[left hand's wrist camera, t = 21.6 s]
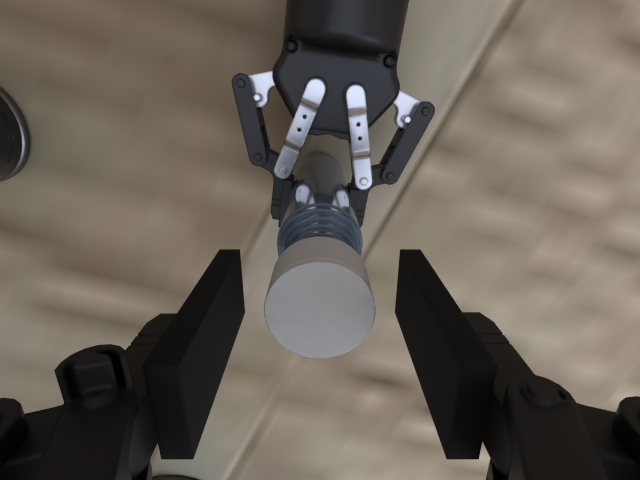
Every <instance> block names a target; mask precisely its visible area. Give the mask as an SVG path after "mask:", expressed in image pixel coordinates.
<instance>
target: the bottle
mask: <svg viewBox="0 0 640 480" xmlns="http://www.w3.org/2000/svg"><path fill="white" fill-rule="evenodd" d="M316 236H320V237H321V236H322V237H330V238H335V239H337V240H340V241H342V242H344V243H346V244H347V245H349V246H350V247H352V248H353V249H354V250H355V251H356V252H357V253H358V255H359V256H360V257H361V254H362V244H363V243H362V234H361V231H360V227H359V224H358V221H357V218H356V214H355V211H354V208H353V205H352V201H351V198H350V195H349V191H348V188H347V185H346V182H345V178H344V175H343V172H342V169H341V166H340V164H339V163H338V161H337V160H336V159H335V158H333V157H332V156H330V155H328V154H324V153H316V154H312V155H310V156H308V157H307V158H305V159H304V160H303V161H302V163H301V164H300V166H299V169H298V172H297V175H296V178H295V182H294V185H293V188H292V191H291V195H290V198H289V201H288V204H287V207H286V211H285V214H284V217H283V220H282V223H281V227H280V230H279V233H278V238H277V246H278V255H279V257H280V255H281V254H282V253H283V252H284V251H285V250H286V249H287V248H288V247H289V246H291V245H292V244H294V243H296V242H297V241H300V240H302V239H306V238H309V237H316Z"/></svg>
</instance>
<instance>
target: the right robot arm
mask: <svg viewBox="0 0 640 480" xmlns="http://www.w3.org/2000/svg"><path fill="white" fill-rule="evenodd" d="M408 2H409V0H287V7H286V18H285V29H284V40H283V48H282V52H281V55H280V57H279V59H278V60H277V62H276V63H275V65H274V67H273V71H269V72H263V73H258V74H253V75H246V74H242V73H239V74H236V75H235V76H234V77H233V79H232V87H233V91H234V95H235V100H236V104H237V108H238V112H239V117H240V121H241V125H242V129H243V134H244V138H245V142H246V146H247V151H248V155H249V159H250V161H251V163H252V164H254V165H256V166H261V167H263V168H265V169H266V170H268V171H270V172H271V174H272V175H273V178H274V184H273V194H272V205H271V215H272V218H273V219H277V220H279V227H281V223H282V220H283V217H284V214H285V211H286V207H287V204H288V201H289V198H290V195H291V191H292V188H293V185H294V179H295V175H292V173H293V167H294V165H295V162H296V160H297V158H298V155H299V153H300V150H301V148H302V146H303V143H304V141H305V139H306V136H307V134H311V135H324V134H331V135H333V136H335V137H338V138H340V139H346V140H348V145H349V152H350V159H351V167H352V180H351V183H348V186H347V188H348V191H349V195H350V198H351V201H352V205H353V208H354V211H355V214H356V218H357V221H358V224H359V227H361V226H362V224H363V218H364V213H365V207H366V202H367V197H368V192H369V191H370V189H371V188H372V187H374V186H376V185H381V184H385V183H386V184H389V185H391V184H394V183H395V182H397V180H398V178H399V177H400V175H401V173H402V171H403V169H404V168H405V166H406V164H407V162H408V160H409V159H410V157H411V155H412V153H413V151H414V150H415V148H416V146H417V144H418V142H419V141H420V139H421V137H422V135H423V133H424V132H425V130H426V128H427V126H428V124H429V123H430V121H431V119H432V117H433V115H434V113H435V108H434V106H433V104H432V103H430V102H426V101H420V100H418V99H416V98H414V97H412V96H410V95H408V94H406V93H405V92H403V91H401V90H400V84H399V80H398V77H397V60H398V55H399V49H400V44H401V39H402V34H403V28H404V23H405V18H406V13H407V8H408ZM275 86H276V88H277V90H278V92H279V94H280V95H281V97H282V99H283V101H284V103H285V105H286V107H287V109H288V110H289V112H290V114H291V116H292V118H293V122H292V124H291V127H290V129H289V132H288V134H287V137H286V139H285V142H284V145H283V147H282V150H281V152H280V154H279V153H278V152H276V151H274V150H272V149H270V145H269V141H268V136H267V131H266V127H265V122H264V117H263V113H262V108H261V107H263V106H265V105H267V104H268V102H269V92H270V90H271V89H272V88H273V87H275ZM392 104H393V105H394V106H395V109H396V113H395V116H394V122H395V124H396V125H397V126H398V127H399V128H398V129H397V131H396V133H395V135H394V137H393V139H392V141H391V143H390V145H389V146H388V148H387V150H386V152H385V154H384V156H383V158H382V160H381V162H380V163H379V164H377V165H372V166H371V162H370V143H369V133H368V129H369V128H370V127H371V126H372V125H373V124H374V122H375V121H376V120H377V119H378V118H379V117H380V116H381V115H382V114H383V113H384V112H385V111H386V110H387V109H388V108H389V107H390V106H391V105H392ZM28 153H29V134H28V129H27V126H26V123H25V120H24V118H23V116H22V114H21V112H20V110H19V109H18V107H17V106H16V104H15V103H14V102H13V100H12V99H11V98H10V97H9V96H8V95H7V94H6V93H5V92H4V91H3V90H2V89H1V88H0V181H4V180H7V179H9V178H11V177H12V176H14V175H15V174H17V173H18V172H19V171H20V170H21V168H22V167H23V166H24V164H25V162H26V160H27V157H28Z"/></svg>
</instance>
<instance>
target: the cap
mask: <svg viewBox="0 0 640 480" xmlns="http://www.w3.org/2000/svg"><path fill="white" fill-rule="evenodd" d="M264 315H265V320H266V324H267V326H268V329H269V330H270V332H271V334H272V335H273V337H274V338H275V339H276V340H277V341H278V342H279V343H280V344H281V345H282V346H283V347H285V348H286V349H288V350H289V351H291V352H293V353H295V354H298V355H301V356H304V357H309V358H331V357H335V356H339V355H342V354H344V353H346V352H348V351H350V350H352V349H354V348H355V347H356V346H358V345H359V344H360V343H361V342H362V341H363V340H364V339H365V338H366V336H367V335H368V333H369V332H370V330H371V328H372V325H373V322H374V318H375V301H374V298H373V294H372V290H371V287H370V283H369V279H368V275H367V272H366V268H365V265H364V263H363V261H362V259H361V257H360V256H359V255H358V253H357V252H356V251H355V250H354V249H353V248H352V247H350V246H349V245H347V244H346V243H344V242H342V241H340V240H337V239H335V238H330V237H322V236H321V237H320V236H316V237H309V238H306V239H302V240H300V241H297V242H296V243H294V244H292V245H291V246H289V247H288V248H287V249H286V250H285V251H284V252H283V253H282V254H281V255H280V257H279V258H278V260H277V262H276V264H275V267H274V270H273V274H272V277H271V281H270V285H269V288H268V292H267V296H266V300H265V305H264Z"/></svg>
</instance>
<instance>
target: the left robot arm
mask: <svg viewBox="0 0 640 480" xmlns="http://www.w3.org/2000/svg"><path fill="white" fill-rule="evenodd" d="M244 314H245V307H244V294H243V282H242V270H241V258H240V250H219V251H218V253H217V254H216V256H215V257H214V259H213V260H212V262H211V263H210V265H209V266H208V268H207V269H206V271H205V272H204V274H203V275H202V277H201V278H200V280H199V281H198V283H197V284H196V286H195V287H194V289H193V290H192V292H191V293H190V295H189V296H188V298H187V299H186V301H185V302H184V304H183V305H182V307H181V308H180V310H179V311H178V313H177V314H159V315H158V316H156V317H155V318H153V319H152V320H151V321H149V322H148V323H146V325H145V326H144V327H143V328H142V330H141V331H140V332H139V334H138V336H136V337H135V339H134V340H133V341H132V343H131V346H129V347H128V348H127V349H126V350H124V349H123V348H122V347H120V346H116V345H112V344H108V345H97V346H93V347H89V348H85V349H83V350H81V351H79V352H76V353H74V354H72V355H71V356H69V357H68V358H66V359H65V360H63V361H62V362H61V363H60V364H59V365H58V367H57V368H56V369H55V374H56V377H57V380H58V383H59V387H60V390H61V393H62V396H63V400H64V404H63V405H61V406H57V407H53V408H49V409H44V410H40V411H36V412H31V413H27V414H24V412H23V409H22V406H21V404H20V403H19V402H18V401H16V400H15V399H9V398H1V399H0V480H193V479H190V478H184V477H176V476H164V477H156V478H152V469H151V463H150V458H151V456H152V453H153V451H154V449H155V447H156V445H157V443H158V445H159V450H160V455H161V459H193V458H194V456H195V453H196V450H197V447H198V444H199V441H200V438H201V436H202V433H203V430H204V427H205V424H206V421H207V419H208V416H209V413H210V410H211V407H212V404H213V402H214V399H215V396H216V393H217V390H218V387H219V385H220V382H221V379H222V376H223V373H224V370H225V368H226V365H227V362H228V359H229V356H230V353H231V350H232V348H233V345H234V342H235V339H236V336H237V333H238V331H239V328H240V325H241V322H242V319H243V316H244ZM395 314H396V316H397V319H398V322H399V325H400V328H401V331H402V333H403V336H404V339H405V342H406V345H407V348H408V350H409V353H410V356H411V359H412V362H413V365H414V368H415V370H416V373H417V376H418V379H419V382H420V385H421V387H422V390H423V393H424V396H425V399H426V402H427V404H428V407H429V410H430V413H431V416H432V419H433V421H434V424H435V427H436V430H437V433H438V436H439V438H440V441H441V444H442V447H443V450H444V453H445V456H446V458H447V459H479V455H480V450H481V445H482V441H483V443H484V445H485V447H486V449H487V451H488V454H489V456H490V458H491V459H490V463H489V468H488V472H487V477H486V480H640V397H638V396H635V397H626V398H625V399H623V400H622V401H621V402H620V403H619V406H618V409H617V412H612V411H607V410H603V409H598V408H594V407H590V406H585V405H581V404H578V403H576V402H575V400H574V399H573V397H572V396H571V394H570V393H569V392H568V391H566V390H565V389H564V388H563V387H561V386H560V385H559V384H557V383H555V382H553V381H551V380H549V379H547V378H544V377H540V376H537V375H535V374H534V373H533V372H532V371H531V369H530V368H529V367H528V365H527V364H526V363H525V362H524V360H523V359H522V358H521V356H520V355H519V354H518V353H517V351H516V350H515V349H514V347H513V346H512V345H511V344H509V341H508V340H507V338H506V337H505V336H504V335H502V332H501V331H500V329H499V328H498V327H497V326H496V324H495V323H494V322H493V321H492V320H490V319H489V318H487V317H486V316H484V315H483V314H481V313H480V312H462V311H461V310H460V308H459V307H458V305H457V304H456V302H455V301H454V299H453V298H452V296H451V295H450V293H449V292H448V290H447V289H446V287H445V286H444V284H443V283H442V281H441V280H440V278H439V277H438V275H437V274H436V272H435V271H434V269H433V268H432V266H431V265H430V263H429V262H428V260H427V259H426V257H425V256H424V254H423V253H422V251H421V250H400V258H399V270H398V282H397V294H396V307H395Z"/></svg>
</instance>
